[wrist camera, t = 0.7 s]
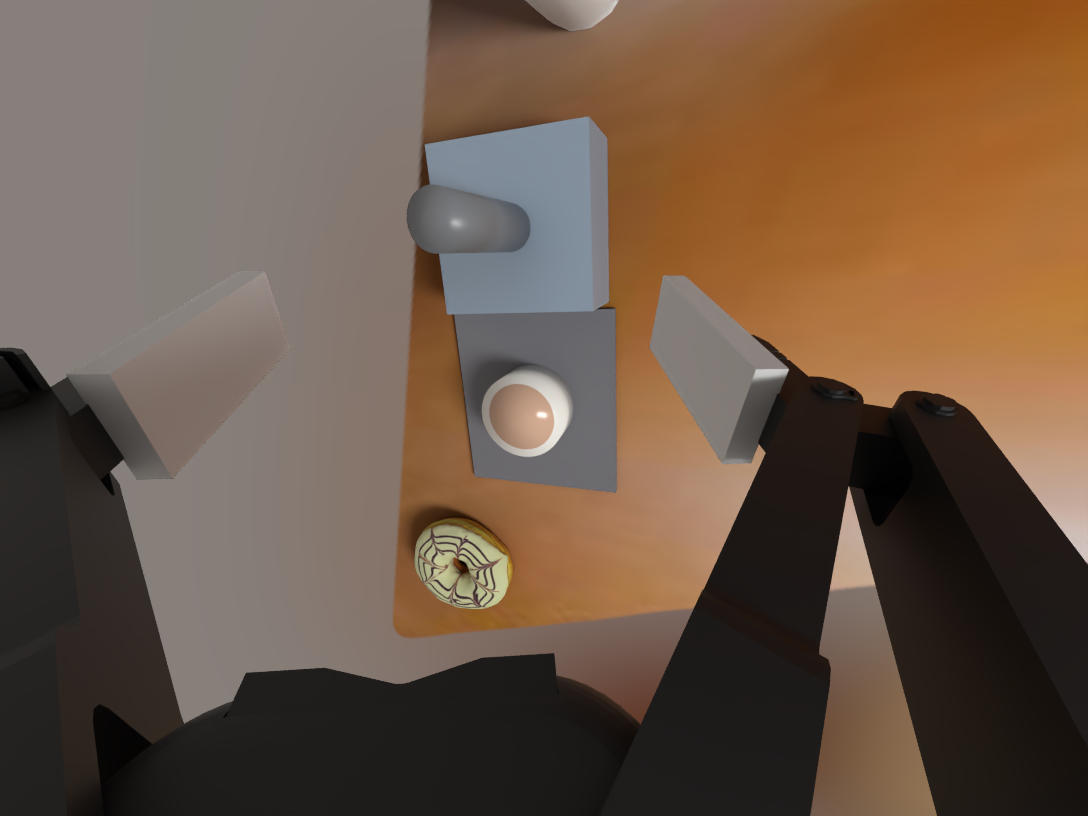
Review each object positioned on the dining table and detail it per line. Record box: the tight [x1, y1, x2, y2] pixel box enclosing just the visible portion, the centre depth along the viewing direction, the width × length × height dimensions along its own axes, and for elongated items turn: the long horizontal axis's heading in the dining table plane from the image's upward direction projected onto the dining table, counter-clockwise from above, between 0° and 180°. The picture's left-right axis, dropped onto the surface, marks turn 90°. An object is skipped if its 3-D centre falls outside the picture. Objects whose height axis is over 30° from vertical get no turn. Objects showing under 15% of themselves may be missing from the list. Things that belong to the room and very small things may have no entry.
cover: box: [407, 117, 609, 314], centre depth 27 cm, size 11×11×15 cm
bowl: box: [482, 365, 574, 457], centre depth 36 cm, size 7×7×4 cm
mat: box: [454, 308, 617, 493], centre depth 38 cm, size 16×14×1 cm
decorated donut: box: [414, 517, 514, 609], centre depth 46 cm, size 10×11×4 cm
